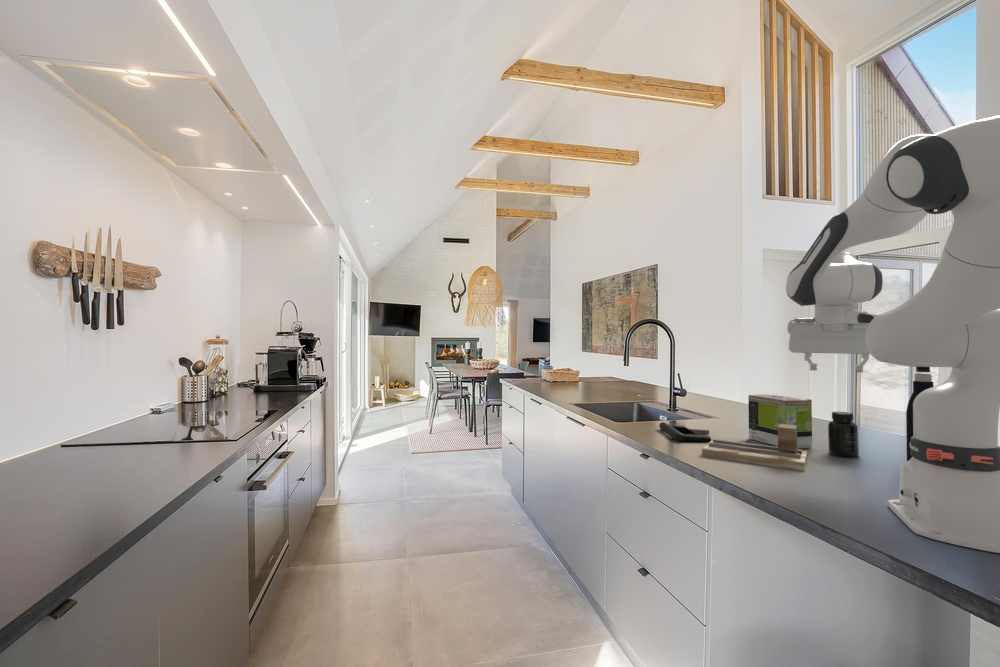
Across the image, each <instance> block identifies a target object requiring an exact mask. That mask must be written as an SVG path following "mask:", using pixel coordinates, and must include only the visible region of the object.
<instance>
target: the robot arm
mask: <svg viewBox="0 0 1000 667" xmlns="http://www.w3.org/2000/svg"><path fill="white" fill-rule="evenodd" d="M947 212H951V213H952V215H953V216H952V217H953V223H952V227H951V229H950V232H949V235H948V237H947V239H946V242H945V244H944V246H943V249H942V252H941V254H940V255H941V256H940V257H939V260H938V262H937V264H936V266H935V268H934V270H933V273H932V275H931V277H930V278H929V279H928V281H927V282H926V284H925V285H924V286H923V287H921V289H920V290H918V292H916V293H915V294H914V295H913V296H912V297H910V298H908V299H907V300H906V301H904V302H903V303H902V304H900V305H898V306H896V307H894V308H892V309H890V310H888V311H885V312H882V313H880V314H874V313H871V312H867V311H864V310H863V311H860V310H859V308H858V304H859V303H866V302H870V301H872V300H873V299H875V298H876V297H877V296H879V294H881V293H882V289H883V284H884V283H883V282H884V280H883V273H882V270H880V269H879V268H878V267H877V265H875V264H873V263H871V262H865V261H861V260H858V259H856V256H855V255H854V254H853V253H851V252H848V251H847V252H845V250H847V249H850V248H853V247H855V246H856V247H857V246H859V245H862V244H867V243H871V242H875V241H880V240H884V239H890V238H893V237H896V236H897V237H898V236H899V235H903V234H905V233H907V232H908V231H909V232H910V230H913V228H915V227H916V226H917V225H918V224H919V223H921V222H922V221H923V220H924V219H925V218H926V216H927V215H928V214H929V215H942V214H945V213H947ZM785 287H786V288H785V289H786V294H787V297H789V299H790V300H792V301H793V302H794V303H796V304H798V305H799V306H800V307H806V306H814V317H805V318H800V317H797V318H794V319H792V320H789V322H788V323H787V332H788V334H789V340H788V350H789V351H790V352H791V353H798V354H804V359H805V360H806V361H807V363H808V364H809V371H818V367H817V366H818V364H817V363H814V362H813V361H812V359H811V358H812V354H838V355H839V354H842V355H845V354H847V355H848V354H849V355H850V354H851V355H853V354H854V355H861V357H860V358H861V359H863V360H862V361H861V362H860V363H859V364H855V373H864V366H865V365H866V363H867V362H868V361H869V359H870V355H871V356H872V357H873V358H874V359H875V360H876V361H877V362H881V363H886V364H891V365H897V366H903V367H913V368H916V367H930V368H951V373H950V374H949V376H948V378H947V379H946V380H945V381H943V382H942V383H940V384H937V385H935V386H934V387H931V388H929V389H926V390H924V391H922V392H921V393H920V394H918V395H917V397H916V398H915V400H914V402H913V436H912V437H911V440H910V454H911V455H912V458H911V459H910V460H909V461H908V462H907V461H906V462H904V463H903V464H901V465H900V468H899V470H900V471H899V497H898V498H899V499H888V500H887V507H888V508H889V509H890V510H891V511H892V512H893V513H894V514H895V515H896V516H897V517H898V518H899V519H900V520H901V521H902V522H903V523H904V524H905V525H906V526H907V527H908V528H909V529H910V530H911V531H912V532H913V533H915V534H916V535H920V536H922V537H926V538H928V539H932V540H936V541H939V542H943V543H947V544H952V545H956V546H960V547H965V548H971V549H974V550H980V551H985V552H990V553H995V554H1000V446H999V442H998V441H999V435H998V434H999V417H1000V115H995V116H992V117H986V118H982V119H978V120H972V121H967V122H965V123H964V122H963V123H962V124H959V125H955V126H952V127H949V128H947V129H944V130H942V131H939V132H936V133H934V134H930V133H919V134H914V135H909V136H907V137H905V138H902V139H901V140H899V141H898V142H896V143H894V145H893V146H891V147H890V149H889V150H888V151H887V152H886V154H885V155H884V157H883V158H882V159H881V160H880V161H879V163H878V165H877V166H876V168H875V170H874V171H873V173H872V175H871V177H869V180H868V182H867V184H866V186H865V188H864V190H863V192H862V193H861V194H860V195H859V196H858V198H857V199H855V200H854V202H852V204H850V205H849V206H848V207H847V208H845V209H844V210H842V211H841V212H839V213H837V214H835V215H833V216H832V217H831V218H830V219H829V221H827V223H826V224H825V226H824V227H823V229H821V231H820V233H819V234H818V235H817V237H816V238H815V240H814V241H813V243H812V244H811V246H810V248H809V249H808V250H807V252H806V253H805V255H804V256H803V257H802V260H801V261H800V262H799V263H797V265H796V266H795V267H794V268H793V269H792V270H791V271H790V272H789V274H788V277H787V279H786V286H785Z"/></svg>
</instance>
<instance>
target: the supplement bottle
mask: <svg viewBox="0 0 1000 667" xmlns="http://www.w3.org/2000/svg"><path fill="white" fill-rule="evenodd" d="M831 419H832V420H831V421H829V422H828V424H827V434H828V436H827V437H828V438H827V439H828V452H829V454H830V455H831V454H832V456H834V457H839V458H846V459H847V458H848V459H851V458H852V459H853V458H857V457H859V456H860V448H859V446H860V444H859V443H860V442H859V441H860V440H859V426H858V424H857V423H855V422H853V421H854V413H852V412H847V411H832V412H831Z"/></svg>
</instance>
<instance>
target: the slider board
mask: <svg viewBox="0 0 1000 667" xmlns="http://www.w3.org/2000/svg"><path fill="white" fill-rule="evenodd" d="M701 456H702V457H706V458H714V459H720V460H727V461H728V460H729V461H734V462H735V461H736V462H741V463H742V462H743V463H746V464H747V463H749V464H756V465H761V466H762V465H763V466H767V467H776V468H783V469H788V470H789V469H790V470H796V471H801V472H802V471H803V472H805V469H806V465H807V461H808V450H802V449H799V448H797V453H789V452H781V451H778V446H775V445H772V446H771V445H765V444H756V443H749V442H748V443H747V442H742V441H741V442H740V441H734V440H733V441H732V440H724V439H716V438H713V439H711V441H710V442H709V443H707V444H706V445H705V446H704V447H702V448H701Z"/></svg>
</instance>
